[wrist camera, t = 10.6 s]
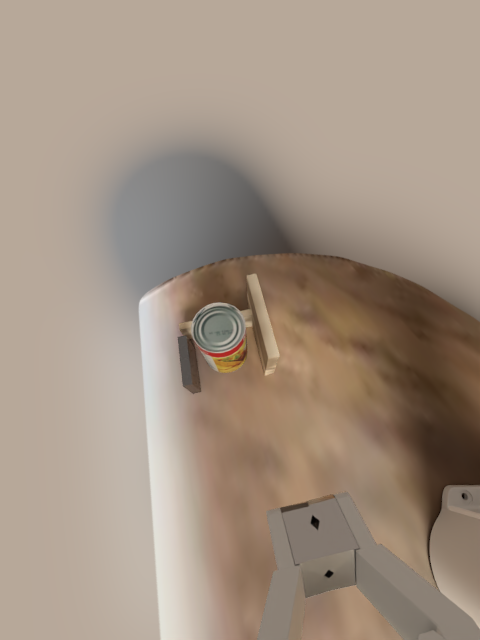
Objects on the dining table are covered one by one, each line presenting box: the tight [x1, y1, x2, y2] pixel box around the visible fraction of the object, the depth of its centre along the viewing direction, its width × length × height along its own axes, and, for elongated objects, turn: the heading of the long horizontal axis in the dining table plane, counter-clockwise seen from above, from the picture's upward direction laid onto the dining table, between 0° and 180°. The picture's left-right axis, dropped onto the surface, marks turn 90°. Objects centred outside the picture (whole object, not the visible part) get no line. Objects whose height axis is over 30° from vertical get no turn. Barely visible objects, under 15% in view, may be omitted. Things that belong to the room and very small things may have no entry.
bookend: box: [178, 336, 201, 393], centre depth 42 cm, size 1×8×7 cm, turn 12°
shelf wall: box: [179, 274, 280, 375], centre depth 42 cm, size 14×14×11 cm
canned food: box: [191, 302, 247, 373], centre depth 41 cm, size 8×8×12 cm
